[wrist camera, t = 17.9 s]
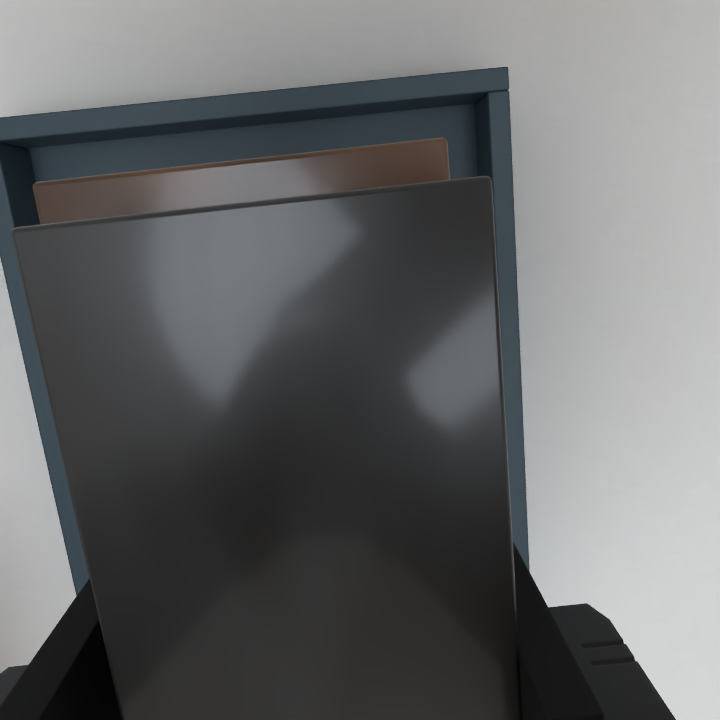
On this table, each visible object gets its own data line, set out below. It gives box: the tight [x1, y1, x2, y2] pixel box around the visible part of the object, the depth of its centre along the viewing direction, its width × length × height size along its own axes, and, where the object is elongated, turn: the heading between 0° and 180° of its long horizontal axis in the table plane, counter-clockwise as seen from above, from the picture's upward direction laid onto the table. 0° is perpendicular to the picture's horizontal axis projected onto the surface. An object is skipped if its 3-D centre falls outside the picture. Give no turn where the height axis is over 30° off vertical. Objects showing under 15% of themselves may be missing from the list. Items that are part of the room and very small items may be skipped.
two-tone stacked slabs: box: [11, 138, 522, 720], centre depth 12 cm, size 18×6×7 cm
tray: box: [0, 67, 529, 595], centre depth 27 cm, size 26×20×4 cm
